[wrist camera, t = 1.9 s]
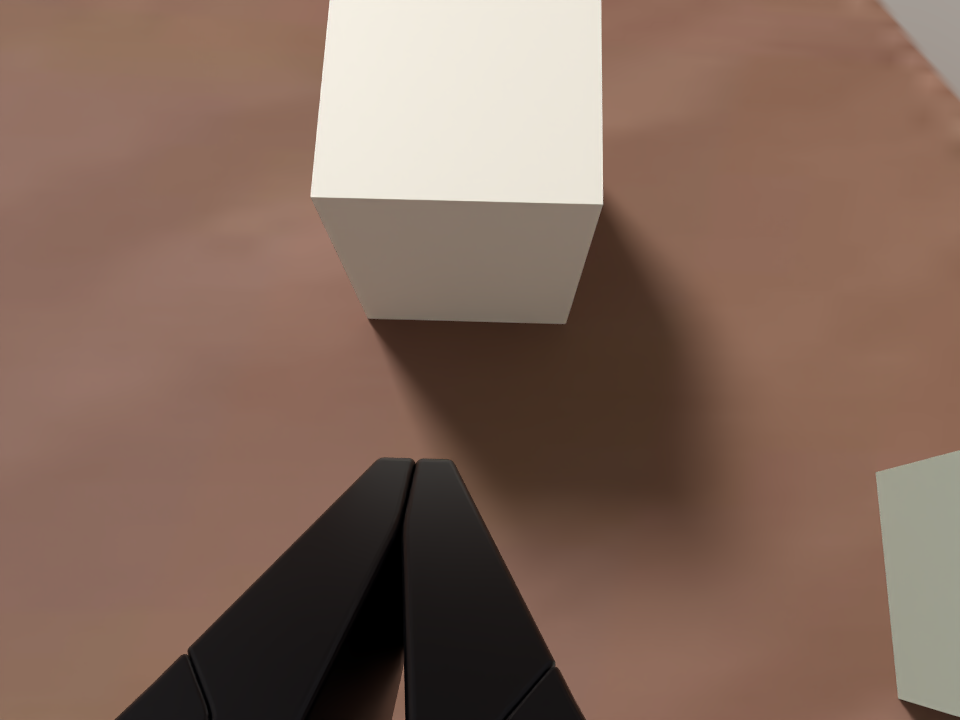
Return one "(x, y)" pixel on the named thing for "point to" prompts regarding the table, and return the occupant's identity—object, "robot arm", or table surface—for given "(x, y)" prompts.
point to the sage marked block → (924, 577)
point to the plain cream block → (461, 154)
